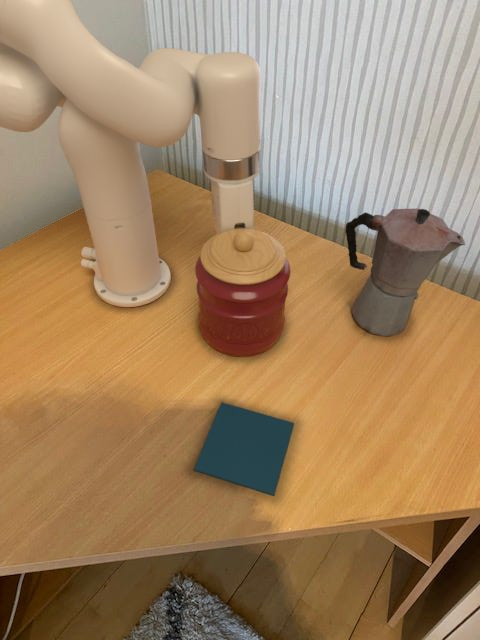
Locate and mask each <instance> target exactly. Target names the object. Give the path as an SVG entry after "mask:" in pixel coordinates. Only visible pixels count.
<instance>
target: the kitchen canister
mask: <svg viewBox="0 0 480 640" xmlns="http://www.w3.org/2000/svg"><path fill="white" fill-rule="evenodd" d="M194 273H195V274H194V275H195V278H196V280H197V281H196V294H197V299H198V300H197V301H198V326H199V330H200V332H201V334H202V336H203V339H204V341H205V342H206V343H207V344H208V345H209V346H211V347H212V348H213V349H214V350H216V351H218V352H219V353H221V354H224V355H227V356H231V357H243V358H244V357H245V358H246V357H253V356H257V355H260V354H261V353H265V352H266V351H268V350H270V349H271V348H272V347H273V346H274V345H275V344H277V342H278V340H279V339H280V336H281V334H282V333H283V330H284V326H285V319H286V317H285V310H286V309H285V307H286V302H287V301H286V299H287V297H288V294H289V293H288V292H289V284H288V282H289V280H290V277H291V265H290V262H289V260H288V259H287V256H286V251H285V248H284V246H283V245H282V244H281V243H280V241H279V240H278V239H277V238H276V237H273V236H272V235H271V234H268V233H266V232H263V231H260V230H256V229H255V228H254V229H247V228H238V229H232V230H228V231H225V232H223V233H218V234H217V233H216V234H214V235H212V236H211V237H210V238H209V239H207V240H206V241H205V243H204V244H203V246H202V248H201V251H200V255H199V256H198V258H197V260H196V263H195V265H194Z"/></svg>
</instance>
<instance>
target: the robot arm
mask: <svg viewBox="0 0 480 640" xmlns="http://www.w3.org/2000/svg"><path fill="white" fill-rule="evenodd" d="M261 83H262V78H261V68H260V65H259V63H258V61H257V60H256V59H255V58H254V57H252V56H251V55H249V54H246V53H244V52H243V53H242V52H236V51H223V52H217V53H213V54H209V53H202V52H195V51H190V50H185V49H179V48H172V47H163V48H158V49H155V50H152V51H151V52H149V53H148V54H147V55H146V56H145V57H144V58H143V60H142V61H141V63H140V65H139V67H136V66H135V65H133V64H132V63H131V62H129V61H127V60H126V59H124V58H122V57H120V56H118V55H117V54H115V53H113V52H112V51H111V50H110V49H108V48H106V46H104V44H102V43H101V42H100V41H98V40H97V39H96V37H94V35H93V34H91V32H90V31H89V30H88V29H87V28H86V26H85V24H84V23H83V22H82V20H81V19H80V17H79V15H78V13H77V10H76V9H75V6H74V3H73V1H72V0H0V127H1V128H3V129H6V130H10V131H13V132H18V133H29V132H33V131H35V130H37V129H39V128H40V127H42V126H43V124H44V123H45V122H47V120H48V119H49V118H50V117H51V115H52V114H53V113H54V111H55V110H56V108H57V107H58V108H61V109H60V112H59V116H58V121H57V134H58V141H59V145H60V147H61V150H62V152H63V155H64V157H65V159H66V161H67V163H68V165H69V168H70V170H71V172H72V175H73V177H74V179H75V183H76V186H77V190H78V192H79V196H80V201H81V204H82V207H83V210H84V214H85V219H86V223H87V226H88V228H89V233H90V237H91V241H92V245H93V247H89V246H84V247H82V249H81V253H80V254H81V257H82V259H81V261H80V266H81V267H82V268H85V269H92V271H93V272H94V275H93V276H94V277H93V287H94V291H95V292H96V294H97V296H98V297H99V299H101V300H102V301H104V302H105V303H107V304H109V305H111V306H115V307H120V308H121V307H122V308H135V307H140V306H145V305H147V304H150V303H152V302H155V301H156V300H158V299H159V298H160V297H162V296H163V295H164V294H165V293H166V292H167V291H168V289H169V287H170V285H171V280H172V274H171V270H170V267H169V266H168V264H167V263H166V261H164V260H163V259H162V258H160V256H159V248H158V243H157V241H158V240H157V235H156V228H155V221H154V213H153V207H152V198H151V194H150V185H149V181H148V175H147V171H146V169H145V165H144V162H143V158H142V154H141V146H140V145H141V144H142V145H145V146H149V147H155V148H163V147H165V148H166V147H169V146H172V145H174V144H176V143H178V142H179V141H180V140H181V139H182V138H183V137H184V136H185V135H186V133H187V131H188V130H189V128H190V125H191V122H192V118H193V115H197V116H198V118H199V125H200V136H201V148H202V160H203V161H202V162H203V171H204V175H205V176H206V178H208V179H209V180H210V191H211V192H210V195H211V213H212V214H211V215H212V220H213V224H214V228H215V232H216V234H218V233H223V232H225V231H228V230H232V229H238V228H247V229H254V230H255V204H254V180H253V179H256V177H257V176H258V175H259V174H260V171H261V94H262V93H261V91H262V88H261V86H262V85H261Z"/></svg>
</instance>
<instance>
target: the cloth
mask: <svg viewBox="0 0 480 640" xmlns="http://www.w3.org/2000/svg"><path fill="white" fill-rule="evenodd" d="M294 426H295V422H292V421H289V420H286V419H282V418H278V417H275V416H271V415H268V414H265V413H261V412H257V411H254V410H251V409H247V408H244V407H240V406H237V405H233V404H231V403H226V402H222V401H221V402H220V404H219V407H218V409H217V412H216V414H215V417H214V419H213V421H212V424H211V426H210V429H209V431H208V433H207V436H206V438H205V441H204V443H203V446H202V448H201V451H200V453H199V455H198V458H197V461H196V462H195V466H194V468H193V471H194V472H197V473H200V474H204V475H206V476H210V477H213V478H215V479H219V480H222V481H225V482H228V483H231V484H235V485H237V486H240V487H244V488H247V489H250V490H253V491H256V492H259V493H263V494H266V495H269V496H272V497H275V496H276V492H277V487H278V484H279V480H280V477H281V472H282V469H283V467H284V466H283V465H284V463H285V459H286V456H287V455H286V454H287V451H288V448H289V445H290V440H291V437H292V433H293V430H294Z"/></svg>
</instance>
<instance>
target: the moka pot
mask: <svg viewBox="0 0 480 640" xmlns="http://www.w3.org/2000/svg"><path fill="white" fill-rule="evenodd" d="M362 225H363V226H366V227H367V228H368V229H369V230H372V231H375V232H376V231H377V234H376V240H375V244H374V250H373V256H372V259H371V264H372V266H371V268H370V274H369V276H368V278H366V281H365V283H364V284H363V285H362V286H363V287H362V288H361V290H360V292H359V294H358V295H357V296H356V299H355V300H354V302H353V304H352V306H351V308H350V310H351V314H352V317H353V319H354V320H355V322H356V324H358V325H359V326H360V327H361V328H363V329H364V330H365V331H367V332H369V333H371V334H373V335H376V336H382V337H393V336H396V335H398V334H399V335H400V333H402V332H404V331H405V329H406V326H407V325H408V322H409V320H410V317H411V315H412V312H413V311H412V310H413V308H414V304H415V301H416V300H417V299H418V298H419V293H418V291H419V289H420V288H421V286H422V285H423V283H424V282H425V281H426V279H428V277H429V275H430V274H431V272H432V271H433V269H434V268H435V267H436V265H437V264H438V263H439V262H441V261H442V260H443V259H445V258H446V257H447V256H449V255H450V254H451V253H452V252H454V251H455V250H456V249H458V248H459V247H461V246H466V241H465V239H464V237H463V236H462V235H461V234H460V233H459V232H457V231H455V230H453V229H451V228H449V226H448V225H447V223H446V222H445V220H444V219H443V218H441V217H439V216H437V215H434V214H432V213H430V211H429V210H427V209H425V208H393V209H392V210H390V211H389V212H388V213H387V214H386V215H385V216H384V215H381V214H374V215H373V214H371V213H369V212H363V213H362V214H359V215H358V216H357V217H354V218H353V219H352V220H351V221H349V222H347V223H346V224H345V237H346V242H347V250H348V257H349V266H350V267H351V268H353V269H358V270H362V271H364V270H365V269H367V267H368V265H367V264H366V263H364V262H359V261H358V256H357V239H356V238H357V235H356V234H357V233H356V229H357V227H358V226H362Z"/></svg>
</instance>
